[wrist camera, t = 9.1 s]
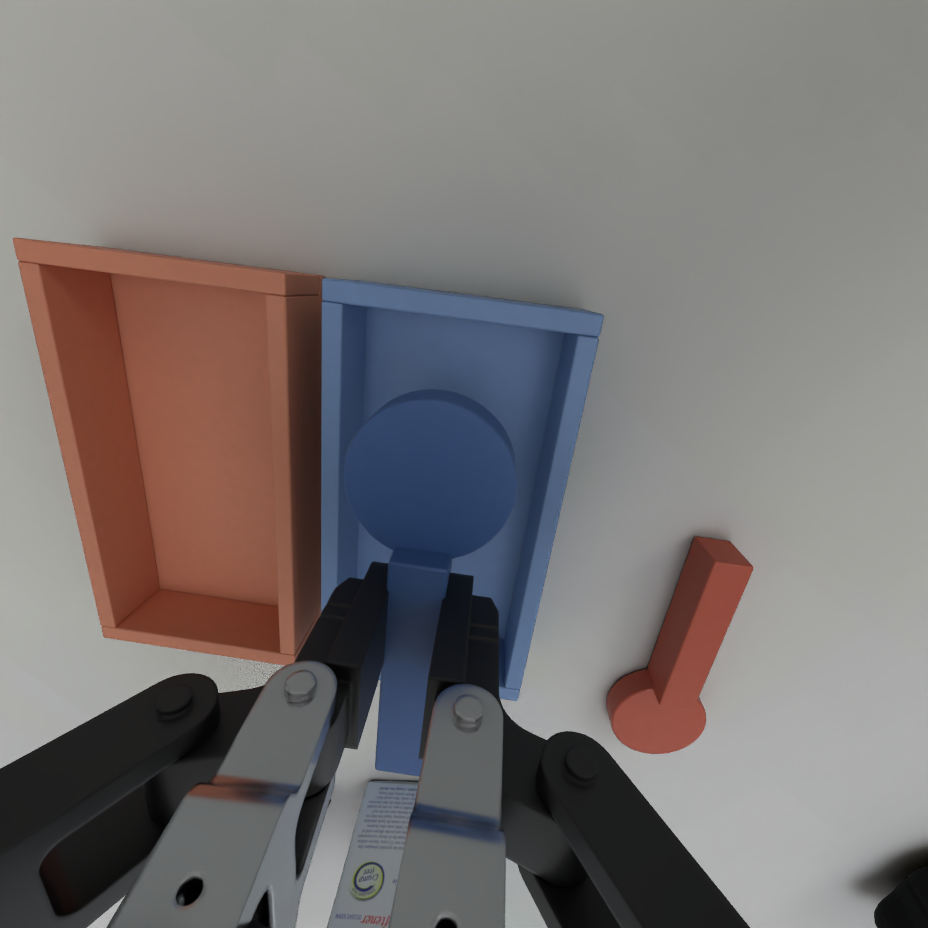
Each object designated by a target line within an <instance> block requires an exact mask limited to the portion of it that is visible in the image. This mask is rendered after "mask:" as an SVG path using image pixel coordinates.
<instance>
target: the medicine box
mask: <svg viewBox="0 0 928 928" xmlns="http://www.w3.org/2000/svg"><path fill="white" fill-rule="evenodd" d="M418 783H419V782H399V781H371V782H369V783H368V784H367V787H366V790H365V793H364V796H363V800H362V803H361V807H360V810H359V814H358V817H357V821H356V824H355V827H354V831H353V835H352V839H351V842H350V846H349V850H348V854H347V857H346V861H345V864H344V868H343V872H342V875H341V879H340V883H339V886H338V890H337V894H336V897H335V900H334V904H333V908H332V911H331V915H330V918H329V922H328V925H327V928H388V926H389V921H390V916H391V910H392V905H393V900H394V895H395V890H396V885H397V880H398V875H399V870H400V865H401V860H402V855H403V850H404V845H405V839H406V834H407V829H408V825H409V820H410V816H411V813H412V812H413V808H414V803H415V798H416V793H417V788H418Z"/></svg>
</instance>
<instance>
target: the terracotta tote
mask: <svg viewBox="0 0 928 928" xmlns="http://www.w3.org/2000/svg"><path fill="white" fill-rule="evenodd" d="M13 243H14V247H15V251H16V256H17V259H18V260H19V261H20V262H18V264H19V269H20V273H21V277H22V282H23V286H24V290H25V295H26V299H27V304H28V308H29V312H30V317H31V321H32V326H33V330H34V334H35V339H36V343H37V347H38V352H39V356H40V361H41V365H42V369H43V374H44V378H45V383H46V387H47V391H48V396H49V400H50V404H51V409H52V413H53V418H54V422H55V426H56V431H57V435H58V440H59V444H60V448H61V453H62V457H63V461H64V466H65V470H66V475H67V479H68V483H69V488H70V492H71V497H72V501H73V505H74V510H75V514H76V519H77V523H78V527H79V532H80V536H81V540H82V545H83V549H84V554H85V558H86V562H87V567H88V571H89V576H90V580H91V584H92V589H93V593H94V597H95V602H96V606H97V611H98V615H99V619H100V624H101V625H102V632H103V636H104V637H105V638H111V639H118V640H124V641H131V642H137V643H144V644H150V645H157V646H163V647H170V648H176V649H182V650H189V651H195V652H202V653H208V654H215V655H221V656H228V657H234V658H241V659H247V660H254V661H260V662H267V663H273V664H280V665H288V664H291V663H294V662H295V660H296V658H297V656H298V654H299V652H300V651H301V649H302V647H303V645H304V643H305V642H306V640H307V638H308V636H309V634H310V632H311V631H312V629H313V627H314V625H315V623H316V622H317V620H318V618H319V617H320V615H321V387H322V302H323V300H322V279H323V278H324V276H321V275H314V274H306V273H298V272H291V271H283V270H275V269H268V268H260V267H252V266H245V265H237V264H229V263H221V262H214V261H206V260H198V259H191V258H183V257H175V256H168V255H160V254H152V253H145V252H137V251H129V250H122V249H114V248H106V247H98V246H89V245H79V244H70V243H60V242H51V241H42V240H32V239H23V238H13Z"/></svg>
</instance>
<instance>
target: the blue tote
mask: <svg viewBox="0 0 928 928" xmlns="http://www.w3.org/2000/svg"><path fill="white" fill-rule="evenodd" d="M322 300H323V302H322V387H321V613H322V611H323V609H324V607H325V605H327V602H328V600H329V598H330V596H331V594H332V593H333V591H334V589H335V588H336V587H337V586H339V585H340V584H341V583H342V582H344V581H345V580H346V579H348V578H349V577H351V578H358V579H364V577H365V575H366V573H367V571H368V569H369V566H370V564H371V563H372V561H375V562H382V563H389V560H390V558H391V555H392V553H393V550H391V549H390V548H388V547H386V546H384V545H383V544H381V543H380V542H379V541H377V540H376V539H375V538H373V537H372V536H371V535H370V534H369V533H368V532H367V531H366V530H365V529H364V527H363V526H362V525H361V524H360V523H359V521H358V519H357V518H356V516H355V515H354V513H353V511H352V509H351V507H350V505H349V502H348V499H347V496H346V492H345V487H344V476H343V472H344V462H345V458H346V453H347V450H348V448H349V445H350V443H351V441H352V439H353V438H354V436H355V434H356V433H357V431H358V430H359V429H360V428H361V426H362V425H363V424H364V423H365V422H366V421H367V420H368V419H369V418H370V417H371V416H372V415H373V414H374V413H375V412H376V411H377V410H379V409H380V408H381V407H382V406H383V405H385V404H386V403H387V402H389V401H390V400H392V399H394V398H396V397H398V396H400V395H403V394H406V393H409V392H413V391H418V390H428V389H436V390H446V391H451V392H455V393H458V394H461V395H464V396H466V397H468V398H470V399H473V400H475V401H476V402H478V403H479V404H481V405H482V406H484V407H485V408H486V409H487V410H489V411H490V412H491V413H492V414H493V415H494V416H495V417H496V418H497V419H498V421H499V422H500V423H501V424H502V426H503V427H504V429H505V430H506V432H507V434H508V436H509V438H510V440H511V443H512V446H513V449H514V454H515V459H516V468H517V481H518V488H517V497H516V501H515V505H514V508H513V511H512V513H511V516H510V517H509V519H508V521H507V523H506V524H505V526H504V527H503V528H502V530H501V531H500V532H499V533H498V534H497V535H496V536H495V537H494V538H493V539H492V540H491V541H490V542H488V543H487V544H486V545H484V546H483V547H481V548H480V549H478V550H476V551H474V552H472V553H469V554H467V555H464V556H461V557H457V558H454V559H452V565H451V572H452V573H459V574H466V575H473V576H474V581H473V592H472V595H476V596H483V597H490V598H492V600H493V602H494V604H495V606H496V607H497V609H498V611H499V697H500V699H507V700H513V701H517V700H518V697H519V692H520V688H521V683H522V679H523V674H524V670H525V666H526V661H527V657H528V652H529V648H530V643H531V639H532V634H533V630H534V626H535V621H536V617H537V612H538V608H539V603H540V599H541V595H542V590H543V586H544V581H545V577H546V572H547V568H548V563H549V559H550V555H551V550H552V546H553V541H554V537H555V532H556V528H557V523H558V519H559V515H560V510H561V506H562V501H563V497H564V492H565V488H566V483H567V479H568V475H569V470H570V466H571V461H572V457H573V452H574V448H575V444H576V439H577V435H578V430H579V426H580V421H581V417H582V412H583V408H584V404H585V399H586V395H587V390H588V386H589V381H590V377H591V372H592V368H593V364H594V359H595V355H596V350H597V346H598V341H599V339H598V338H597V337H599V335H600V332H601V328H602V324H603V319H604V315H602V314H599V313H595V312H591V311H587V310H583V309H575V308H567V307H560V306H552V305H544V304H536V303H529V302H521V301H513V300H506V299H498V298H490V297H483V296H475V295H467V294H460V293H452V292H444V291H437V290H429V289H421V288H414V287H406V286H398V285H391V284H383V283H375V282H367V281H360V280H348V279H333V278H323V279H322ZM379 680H381V674H380V677H379Z"/></svg>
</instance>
